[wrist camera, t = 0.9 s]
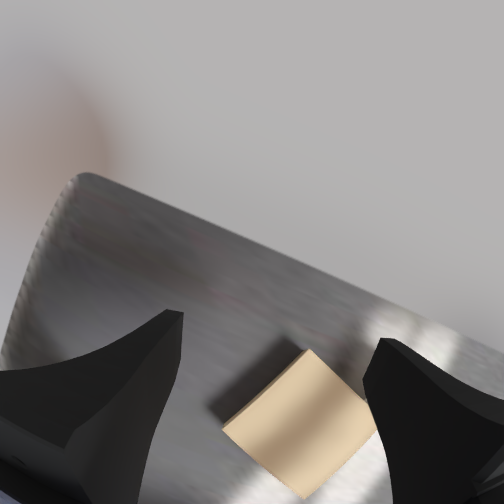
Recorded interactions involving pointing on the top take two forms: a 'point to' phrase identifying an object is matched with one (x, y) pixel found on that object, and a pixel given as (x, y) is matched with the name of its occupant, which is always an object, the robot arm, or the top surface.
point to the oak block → (303, 424)
